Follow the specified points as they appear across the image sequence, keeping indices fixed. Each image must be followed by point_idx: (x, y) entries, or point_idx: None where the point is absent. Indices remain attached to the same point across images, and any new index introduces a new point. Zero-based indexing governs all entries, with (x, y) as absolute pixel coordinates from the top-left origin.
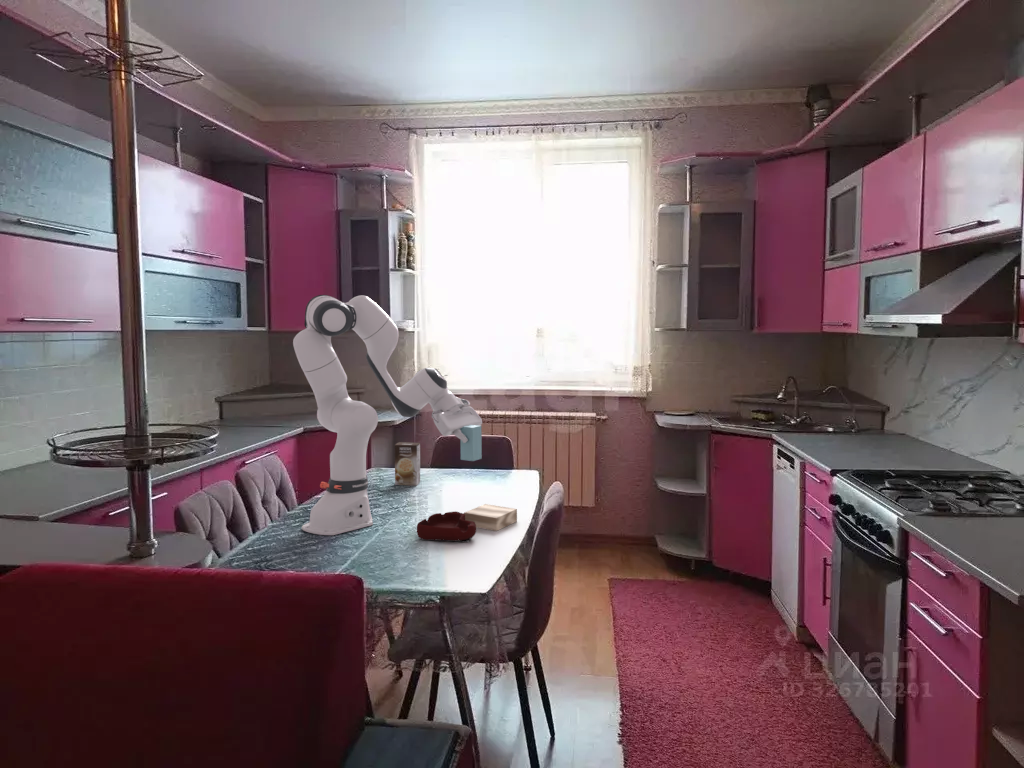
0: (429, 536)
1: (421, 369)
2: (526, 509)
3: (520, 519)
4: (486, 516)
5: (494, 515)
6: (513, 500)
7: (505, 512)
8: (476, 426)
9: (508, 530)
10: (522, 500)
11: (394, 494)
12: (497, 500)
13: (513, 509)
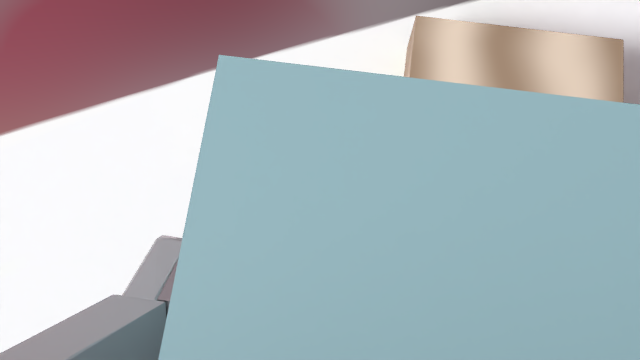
0: None
1: None
2: (185, 87)
3: (368, 46)
4: (622, 97)
5: (585, 68)
6: (23, 222)
7: (505, 41)
8: (414, 127)
9: (555, 28)
10: (10, 175)
11: None
12: (48, 310)
13: (433, 27)
